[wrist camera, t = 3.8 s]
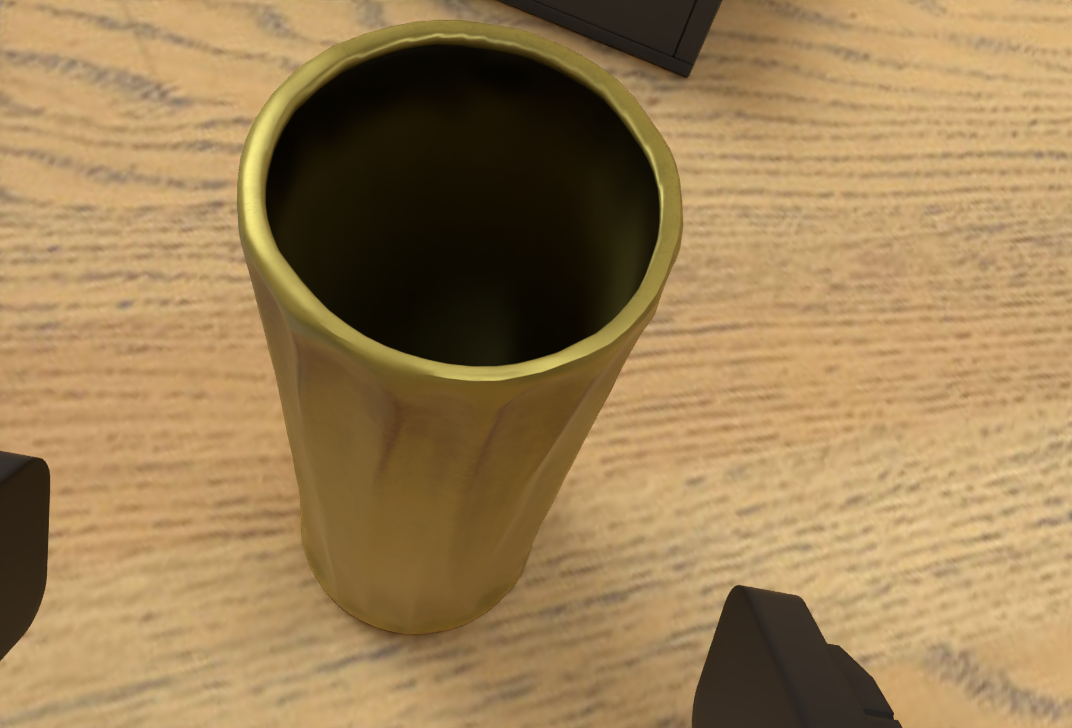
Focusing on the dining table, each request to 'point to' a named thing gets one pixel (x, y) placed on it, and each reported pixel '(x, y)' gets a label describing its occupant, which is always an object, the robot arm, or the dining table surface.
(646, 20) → the grid
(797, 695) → the robot arm
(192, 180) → the dining table surface
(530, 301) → the vase
